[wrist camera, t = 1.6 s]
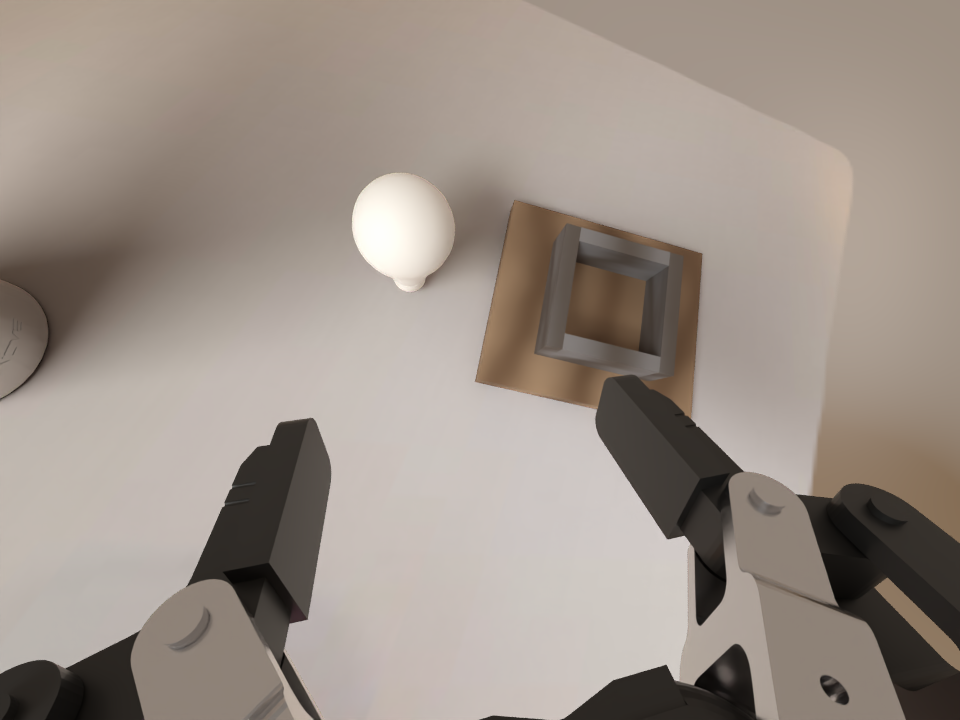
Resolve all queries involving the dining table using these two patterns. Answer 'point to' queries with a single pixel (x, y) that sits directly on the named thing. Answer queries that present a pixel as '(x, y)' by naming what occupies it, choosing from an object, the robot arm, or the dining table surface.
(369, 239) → the lightbulb
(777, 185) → the dining table surface
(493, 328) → the bulb holder
